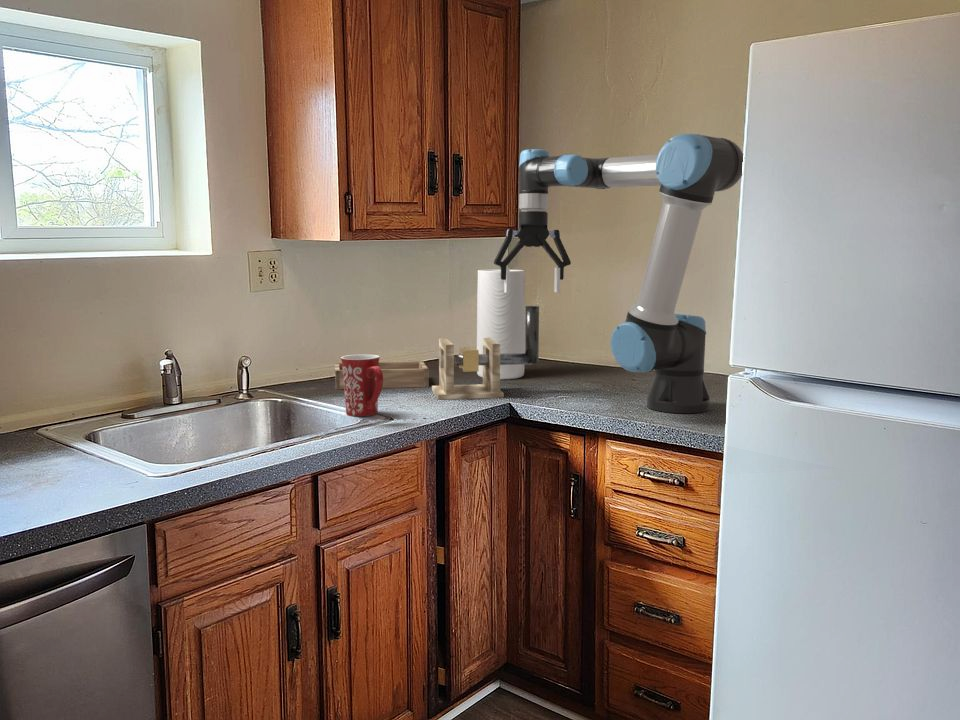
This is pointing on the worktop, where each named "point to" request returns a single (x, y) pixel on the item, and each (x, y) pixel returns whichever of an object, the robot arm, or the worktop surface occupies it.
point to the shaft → (530, 344)
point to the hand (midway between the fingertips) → (531, 292)
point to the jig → (484, 390)
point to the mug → (362, 384)
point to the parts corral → (394, 374)
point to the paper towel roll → (502, 316)
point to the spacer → (469, 359)
